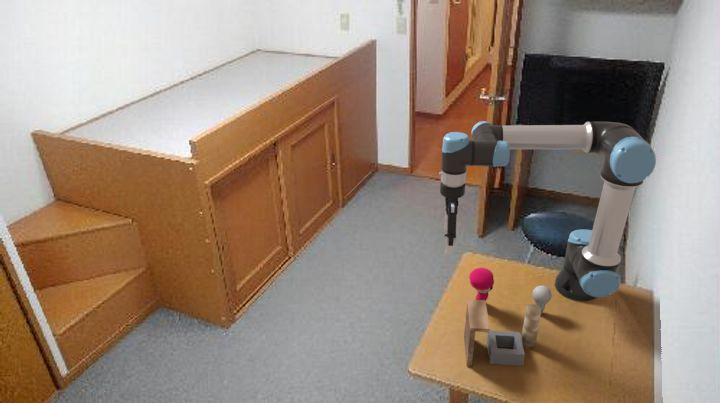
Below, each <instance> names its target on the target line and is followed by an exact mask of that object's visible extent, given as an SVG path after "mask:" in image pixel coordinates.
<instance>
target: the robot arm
mask: <svg viewBox="0 0 720 403" xmlns="http://www.w3.org/2000/svg"><path fill="white" fill-rule="evenodd" d="M470 134H471V138H469V135H468V134H466V133H464V132H460V131H451V132H448V133H446V134H445V135H444V136H443V139H442V148H441V165H440V166H441V168H440V169H441V170H440V171H439V173H438V176H440V184H439V185H440V187H439V188H440V189H439V193H440V195H441V196H442V197H444V201H445V202H444V203H445V214H444V216H445V218H444V231H447V232H446V233H445V234H444V237H446V238H445V254H455V250H456V248H455V247H456V238H457V215H458V209H459V208H458V206H459V199H460V198H462V197H464V195H465V193H466V192H465V191H466V181H467V169H468V168H467V167H468V166H469V167H494V168H496V167H507V165H508V164H509V162H510V156H511V155H510V153H511V150H581V151H582V152H584V153H587V154H590V153H593V154H597V155H599V156H601V157H602V159H603V162H602V167H601V171H600V178H601V180H602V181H603V186H602V189H601V190H602V191H601V195H600V198H599V202H598V206H597V210H596V214H595V218H594V222H593V226H592V229H583V228H582V229H581V228H580V229H576V230H573V231H571V232H570V233H569V236H568V239H567V244H566V245H567V246H566V249H565V256H564V262H563V266H562V268H561V269H560V271H559V272H558V274H557V275H556V277H555V281H554V287H555V289H556V291H557V292H558V293H559V294H561V295H562V296H564V297H565V298H567V299H569V300H570V299H571V300H573V301H578V302H589V301H592V300H595V299H597V298H604V297H605V298H606V297H608V296H610V295H612V294H615V292H617V291H618V290H619V288H620V286H621V282H622V281H621V276H620V275H619V274H618V271H619V267H620V264H621V259H622V258H621V255H620V254H619V253H618V250H619V247H620V244H621V240H622V237H623V234H624V230H625V227H626V222H627V219H628V216H629V211H630V208H631V205H632V202H633V197H634V194H635V192H636V191H635V190H636V188H639V187H640V186H642V185H643V183H644V181H645V180H646V178H648V177H650V176H651V174H652V173H653V172H654V170H655V168H656V163H657V159H656V153H655V151H654V150H653V148H652V146H651V145H650V143H649V142H648V141H646V140H645V139H644V138H643V137H642V136H641V135H640V134H639V133H638V131H636V129H635V128H633V127H632V126H630V125H628V124H625V123H622V122H615V121H614V122H613V121H586V122H585V123H584V124H562V125H561V124H560V125H559V124H557V125H556V124H551V125H550V124H549V125H546V124H545V125H544V124H541V125H537V124H536V125H531V124H530V125H529V124H528V125H525V124H523V125H517V124H516V125H515V124H514V125H499V124H498V125H493V124H492V123H491V122H490V121H485V120H483V121H478V122H477V123H476V124H474V125H473V127H472V129H471V133H470ZM470 139H471V140H470Z"/></svg>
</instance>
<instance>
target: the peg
mask: <svg viewBox="0 0 720 403" xmlns="http://www.w3.org/2000/svg"><path fill="white" fill-rule="evenodd" d="M541 315H542V314H541V308H540V307H539V306H537V305H535V304H533V303H532V304H531V303H530V304H528V305H527V306H526V308H525V313H524V321H523V326H522V331H521V340H522V345H523V348H525V349H533V348H535V347H536V342H537V341H536V340H537V337H538V331H539V325H540V320H541Z"/></svg>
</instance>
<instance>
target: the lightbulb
mask: <svg viewBox="0 0 720 403" xmlns="http://www.w3.org/2000/svg"><path fill="white" fill-rule="evenodd" d="M531 295H532V299H533V300H534V303H535V304H534V305H537V306H539V307H540V308H541V315H542V314H543V313H544V310H545V308H546V305H547V304H548V303H549V302H550V301H551V299H552V296H553V295H552V292H551V289H550V288H549V287H548V286H547V285H546V286H545V285H537V286H536V287H534V289H533V290H532V294H531Z"/></svg>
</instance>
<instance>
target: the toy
mask: <svg viewBox="0 0 720 403" xmlns="http://www.w3.org/2000/svg"><path fill="white" fill-rule="evenodd" d="M469 284H470V285H471V287H472V288H474V289H475V290H476V296H475V299H474V300H485V301H486V302H487V300H488V298H489V292H490V291H492V290H493V287H494V284H495V280H494V274H493V272H492V271H491V270H490V269H488V268H486V267H477V268H476V267H475V269H473V270H471V272H470V273H469Z"/></svg>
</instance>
